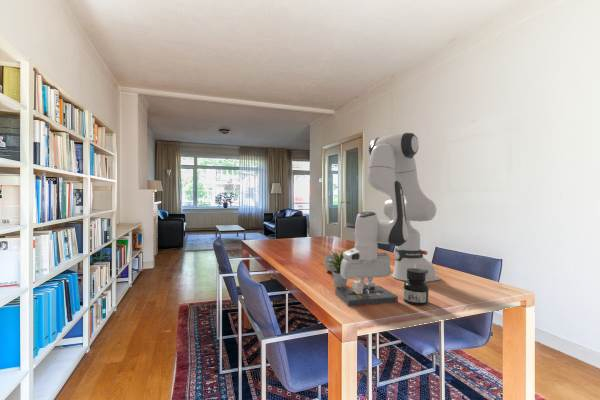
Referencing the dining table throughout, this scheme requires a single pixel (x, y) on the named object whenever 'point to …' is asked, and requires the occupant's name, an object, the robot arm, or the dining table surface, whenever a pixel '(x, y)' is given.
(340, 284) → the house plant
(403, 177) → the robot arm
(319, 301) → the dining table surface
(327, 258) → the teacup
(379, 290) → the console
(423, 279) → the ink bottle
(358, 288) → the fader cap
